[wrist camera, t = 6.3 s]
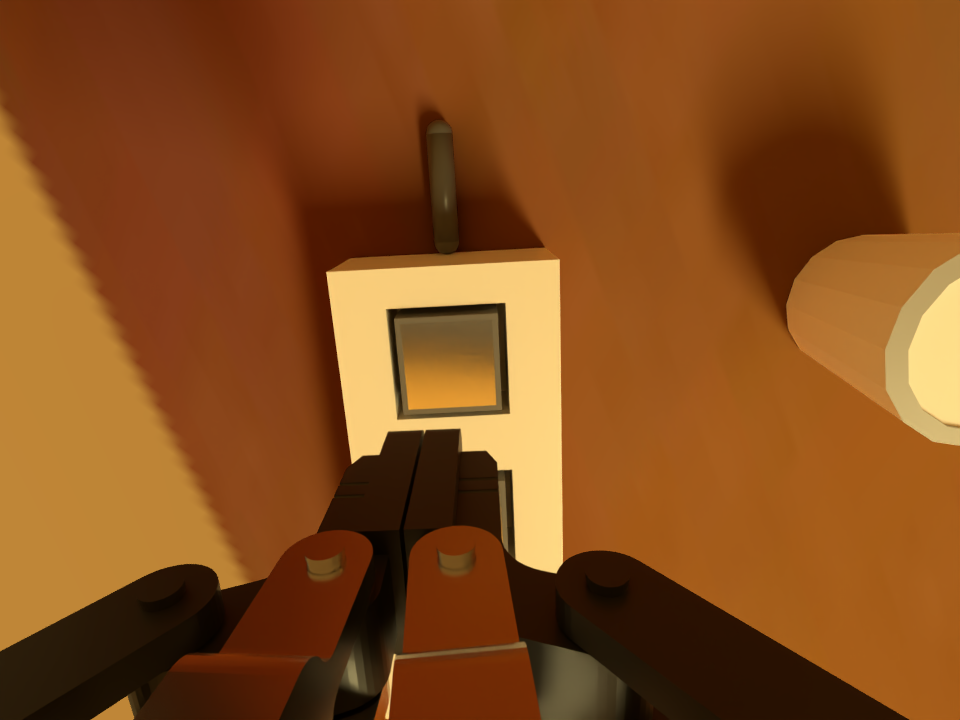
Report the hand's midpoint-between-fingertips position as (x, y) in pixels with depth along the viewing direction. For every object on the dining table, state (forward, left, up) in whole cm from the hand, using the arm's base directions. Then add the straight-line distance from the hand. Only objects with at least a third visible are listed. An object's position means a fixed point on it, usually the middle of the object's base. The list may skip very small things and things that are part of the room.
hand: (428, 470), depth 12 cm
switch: (0, 0, -11) cm, 11 cm away
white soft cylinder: (0, +17, -13) cm, 21 cm away
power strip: (+4, 0, -13) cm, 13 cm away
